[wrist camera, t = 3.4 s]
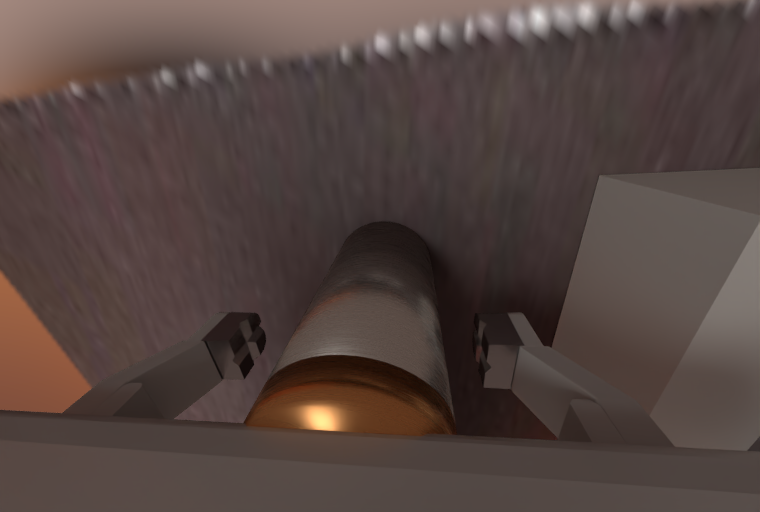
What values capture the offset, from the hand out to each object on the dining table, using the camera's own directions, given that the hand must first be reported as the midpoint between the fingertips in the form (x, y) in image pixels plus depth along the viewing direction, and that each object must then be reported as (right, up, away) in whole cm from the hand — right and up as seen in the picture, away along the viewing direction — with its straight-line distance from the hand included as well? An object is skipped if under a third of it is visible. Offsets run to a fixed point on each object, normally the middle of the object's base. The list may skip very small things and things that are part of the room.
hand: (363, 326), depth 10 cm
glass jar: (+1, +2, +5) cm, 5 cm away
